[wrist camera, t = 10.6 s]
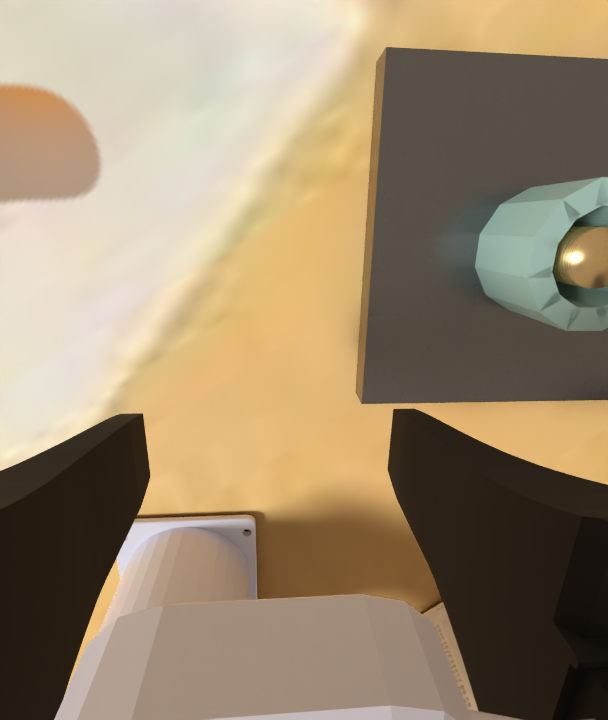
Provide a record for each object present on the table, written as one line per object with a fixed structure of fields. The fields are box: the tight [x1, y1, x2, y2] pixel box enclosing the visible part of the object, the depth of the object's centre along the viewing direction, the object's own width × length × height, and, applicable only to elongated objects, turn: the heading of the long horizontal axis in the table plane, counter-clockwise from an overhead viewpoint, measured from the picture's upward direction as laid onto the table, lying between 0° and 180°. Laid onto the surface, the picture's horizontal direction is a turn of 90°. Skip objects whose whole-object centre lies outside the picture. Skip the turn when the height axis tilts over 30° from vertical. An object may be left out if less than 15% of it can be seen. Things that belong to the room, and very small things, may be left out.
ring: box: [475, 177, 608, 331], centre depth 17 cm, size 5×5×4 cm
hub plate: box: [356, 47, 608, 404], centre depth 17 cm, size 15×15×6 cm
